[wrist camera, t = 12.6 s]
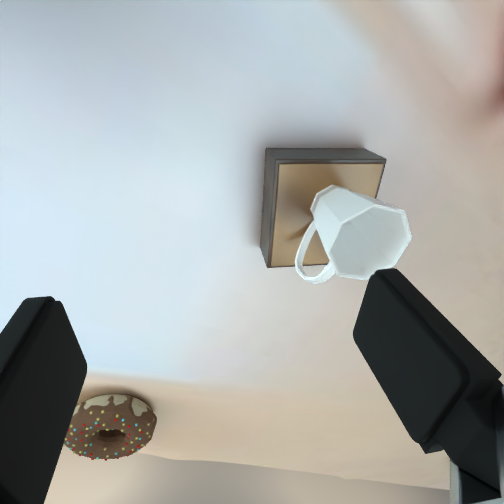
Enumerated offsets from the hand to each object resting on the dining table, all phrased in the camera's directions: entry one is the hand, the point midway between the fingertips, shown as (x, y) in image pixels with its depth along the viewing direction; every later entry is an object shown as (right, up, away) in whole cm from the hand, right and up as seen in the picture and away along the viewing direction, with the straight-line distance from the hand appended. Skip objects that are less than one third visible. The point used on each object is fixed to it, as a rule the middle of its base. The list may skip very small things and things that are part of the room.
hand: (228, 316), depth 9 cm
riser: (+7, +8, +25) cm, 27 cm away
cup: (+8, +6, +21) cm, 23 cm away
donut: (-23, -25, +40) cm, 53 cm away
